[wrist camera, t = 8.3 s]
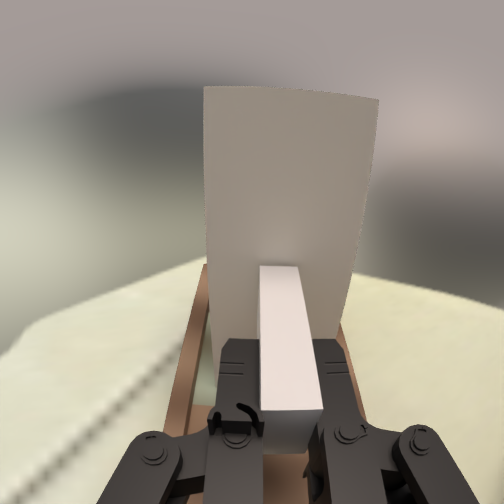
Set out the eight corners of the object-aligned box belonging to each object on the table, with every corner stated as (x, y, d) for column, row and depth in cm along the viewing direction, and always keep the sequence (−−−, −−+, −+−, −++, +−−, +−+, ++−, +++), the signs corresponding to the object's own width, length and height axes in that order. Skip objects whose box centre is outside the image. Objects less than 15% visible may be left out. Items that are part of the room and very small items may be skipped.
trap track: (374, 642, 3) (400, 649, 2) (148, 646, 3) (129, 657, 2) (318, 296, 28) (323, 267, 26) (205, 292, 28) (203, 263, 26)
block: (320, 388, 17) (379, 99, 9) (215, 387, 17) (203, 86, 9) (306, 312, 23) (333, 94, 16) (224, 310, 23) (224, 87, 16)
